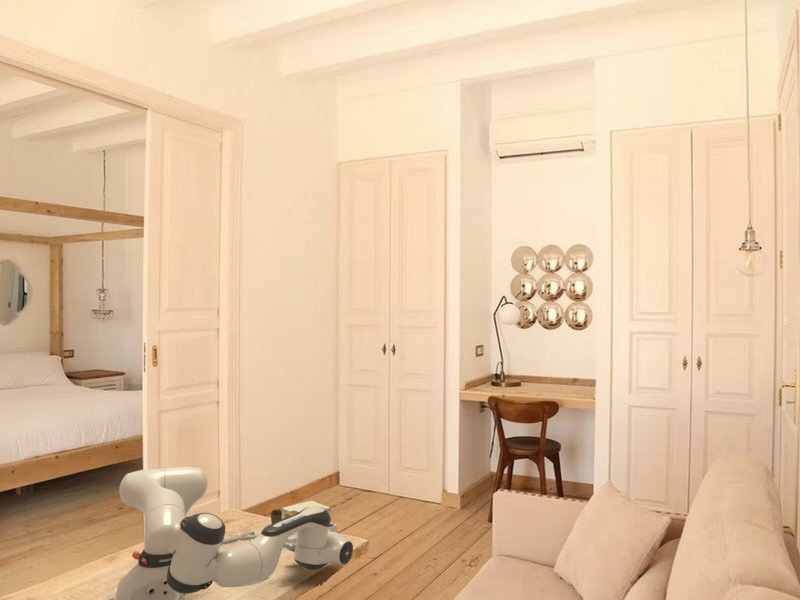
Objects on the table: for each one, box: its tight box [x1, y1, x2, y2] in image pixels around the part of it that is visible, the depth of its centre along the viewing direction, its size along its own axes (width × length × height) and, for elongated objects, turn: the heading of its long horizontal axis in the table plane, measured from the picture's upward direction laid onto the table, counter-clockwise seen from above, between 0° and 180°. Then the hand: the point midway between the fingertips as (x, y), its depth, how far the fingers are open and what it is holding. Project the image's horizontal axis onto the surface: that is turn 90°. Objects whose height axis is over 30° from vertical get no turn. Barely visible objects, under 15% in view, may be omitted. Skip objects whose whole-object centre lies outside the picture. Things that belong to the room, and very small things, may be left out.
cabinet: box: [281, 500, 331, 519], centre depth 246 cm, size 15×13×13 cm
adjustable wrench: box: [221, 531, 261, 546], centre depth 246 cm, size 25×6×2 cm, turn 123°
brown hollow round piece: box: [270, 508, 282, 524], centre depth 258 cm, size 8×7×8 cm
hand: (292, 528), depth 225 cm, fingers closed on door, 4 cm apart
